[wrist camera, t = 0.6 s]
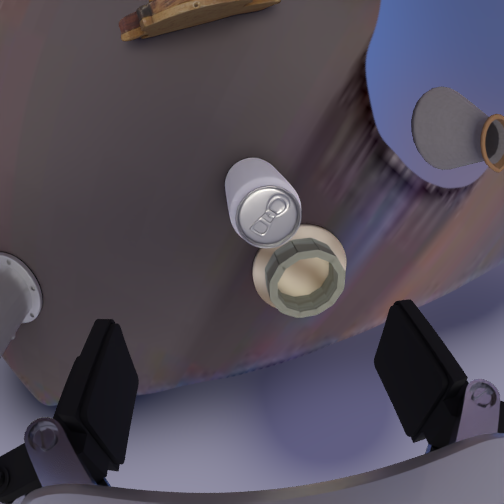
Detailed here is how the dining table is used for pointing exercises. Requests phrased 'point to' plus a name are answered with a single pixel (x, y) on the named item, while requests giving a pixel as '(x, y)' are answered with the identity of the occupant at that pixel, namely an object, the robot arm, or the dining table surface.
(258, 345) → the dining table surface
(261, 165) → the can
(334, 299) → the cup holder
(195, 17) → the wooden carving
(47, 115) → the dining table surface
